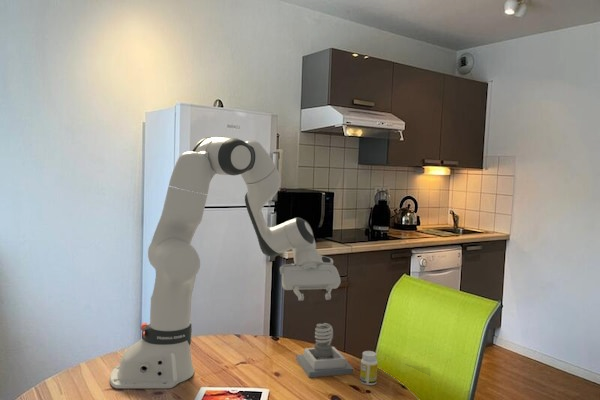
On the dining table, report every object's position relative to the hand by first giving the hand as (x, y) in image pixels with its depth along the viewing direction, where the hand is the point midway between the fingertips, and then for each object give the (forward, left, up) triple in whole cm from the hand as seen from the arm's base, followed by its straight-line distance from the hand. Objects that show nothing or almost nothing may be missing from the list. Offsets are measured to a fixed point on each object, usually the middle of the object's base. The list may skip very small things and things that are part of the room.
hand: (315, 299), depth 149 cm
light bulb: (-1, -11, -17) cm, 20 cm away
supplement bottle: (+9, -24, -18) cm, 31 cm away
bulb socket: (0, -11, -18) cm, 21 cm away
